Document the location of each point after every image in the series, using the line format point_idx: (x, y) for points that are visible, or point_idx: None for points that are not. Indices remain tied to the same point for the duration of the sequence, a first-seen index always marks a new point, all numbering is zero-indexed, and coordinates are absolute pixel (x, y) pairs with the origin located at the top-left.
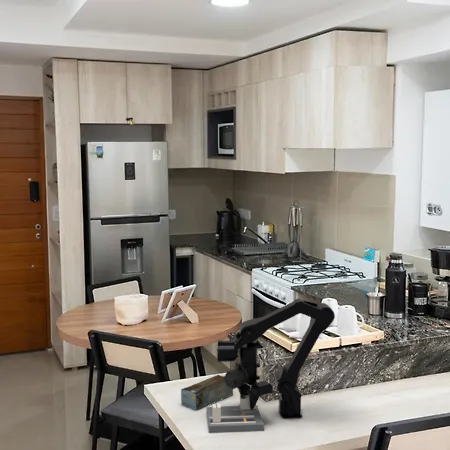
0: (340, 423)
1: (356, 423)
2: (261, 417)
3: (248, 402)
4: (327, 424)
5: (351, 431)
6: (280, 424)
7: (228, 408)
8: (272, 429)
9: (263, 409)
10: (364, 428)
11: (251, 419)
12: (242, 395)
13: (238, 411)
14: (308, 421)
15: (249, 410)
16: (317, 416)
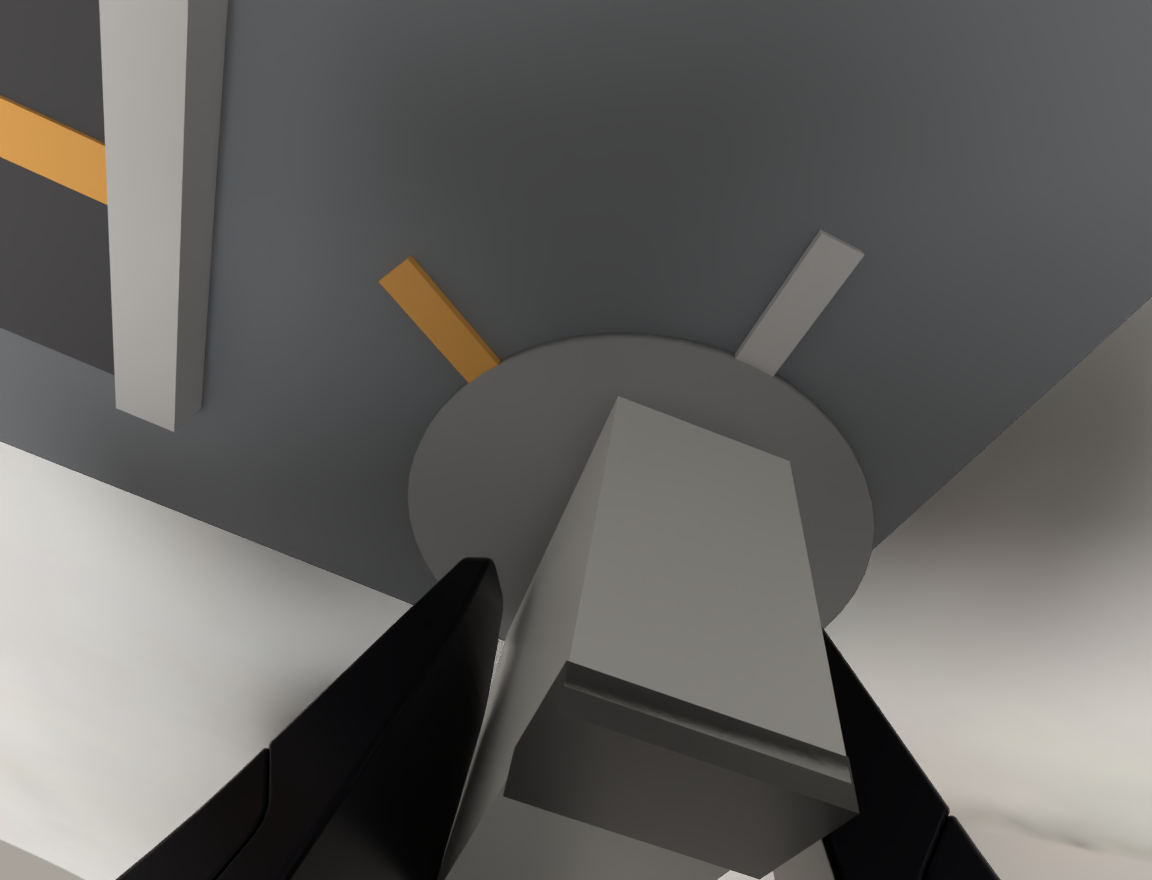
0: (145, 842)
1: None
2: (174, 508)
3: (519, 673)
4: (135, 800)
5: (5, 810)
6: (178, 590)
7: (1058, 158)
8: None
9: None
10: (56, 858)
11: (69, 305)
12: (761, 841)
13: (645, 307)
14: (214, 766)
15: (532, 519)
16: None
